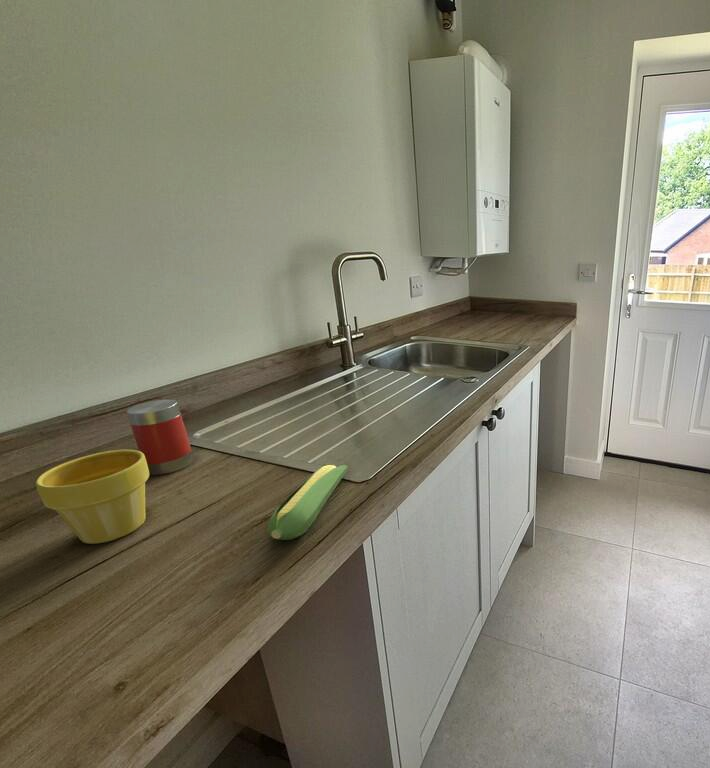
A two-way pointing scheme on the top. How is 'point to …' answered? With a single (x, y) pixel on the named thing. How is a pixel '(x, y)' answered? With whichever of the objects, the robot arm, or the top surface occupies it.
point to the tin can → (161, 436)
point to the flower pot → (98, 494)
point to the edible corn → (305, 503)
